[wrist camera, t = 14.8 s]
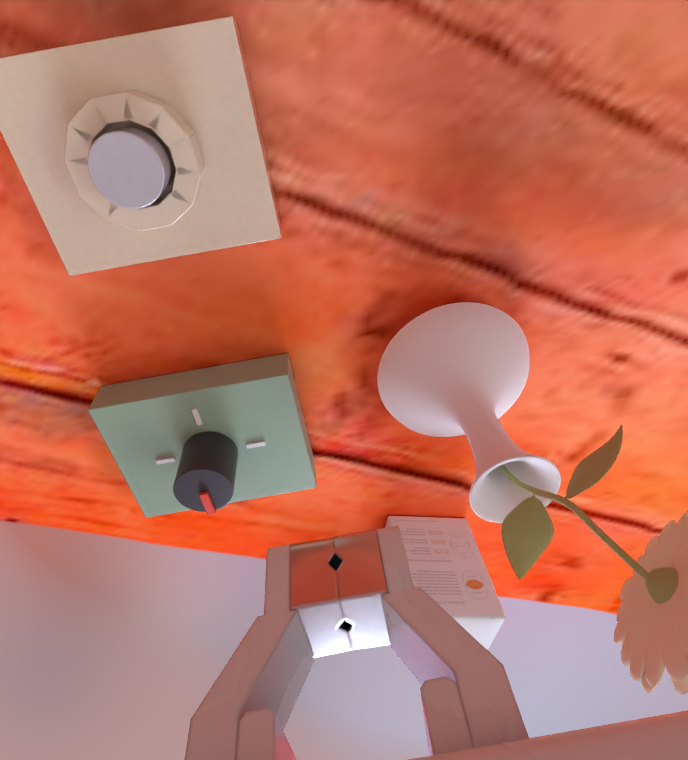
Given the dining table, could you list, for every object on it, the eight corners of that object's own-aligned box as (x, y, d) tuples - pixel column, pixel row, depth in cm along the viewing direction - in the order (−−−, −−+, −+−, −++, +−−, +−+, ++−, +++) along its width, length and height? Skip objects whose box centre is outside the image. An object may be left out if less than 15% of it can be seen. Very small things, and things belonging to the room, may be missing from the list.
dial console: (288, 352, 37) (288, 375, 35) (315, 462, 43) (316, 489, 41) (100, 385, 37) (86, 411, 35) (153, 491, 43) (144, 519, 41)
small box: (375, 552, 50) (394, 658, 42) (387, 513, 47) (410, 618, 39) (452, 555, 52) (485, 658, 43) (468, 516, 49) (507, 619, 40)
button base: (236, 18, 26) (228, 13, 23) (281, 227, 32) (281, 248, 29) (-10, 62, 26) (-54, 64, 23) (81, 263, 32) (57, 287, 29)
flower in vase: (443, 442, 43) (590, 805, 22) (343, 373, 39) (409, 750, 18) (567, 335, 39) (898, 667, 18) (470, 242, 34) (764, 543, 13)
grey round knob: (157, 120, 25) (149, 124, 24) (180, 194, 27) (174, 202, 26) (86, 133, 25) (73, 138, 24) (114, 206, 27) (104, 214, 26)
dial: (175, 436, 37) (163, 478, 33) (230, 426, 37) (223, 467, 33) (193, 476, 39) (183, 519, 35) (244, 467, 39) (239, 509, 35)
